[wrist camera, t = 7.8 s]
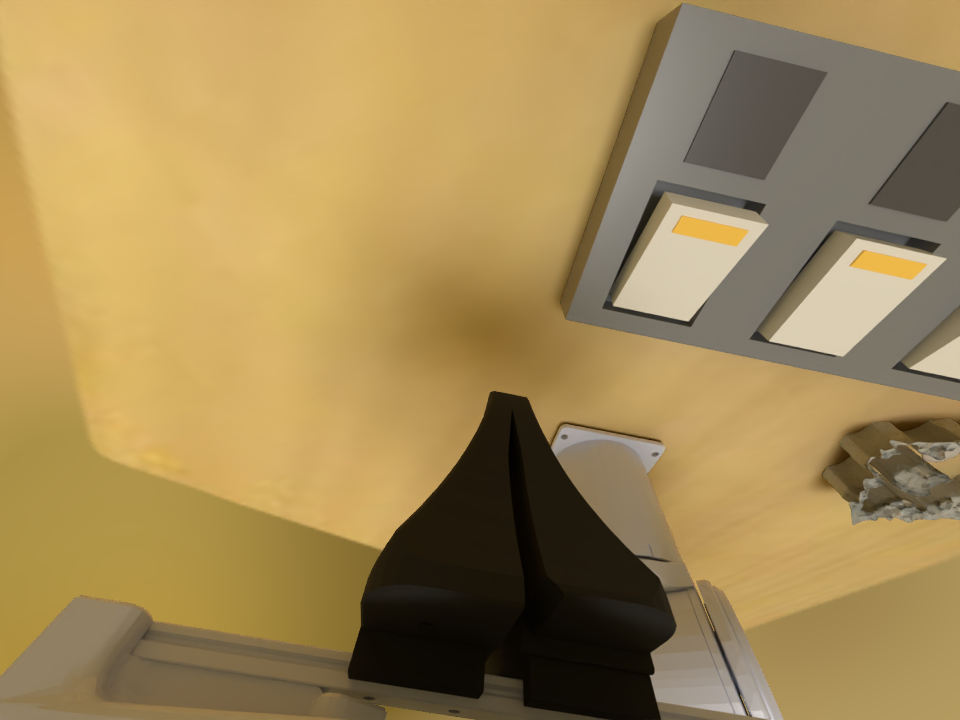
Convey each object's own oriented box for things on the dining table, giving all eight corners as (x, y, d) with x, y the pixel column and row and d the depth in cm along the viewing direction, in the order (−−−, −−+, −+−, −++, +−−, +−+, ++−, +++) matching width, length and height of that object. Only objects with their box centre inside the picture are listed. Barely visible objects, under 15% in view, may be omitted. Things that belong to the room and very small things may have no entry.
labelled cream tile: (681, 306, 18) (688, 322, 17) (609, 291, 18) (613, 307, 17) (755, 211, 14) (770, 225, 13) (665, 191, 14) (673, 204, 13)
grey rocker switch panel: (938, 380, 21) (984, 406, 19) (560, 301, 20) (565, 320, 18) (1208, 157, 14) (1323, 160, 12) (657, 21, 13) (683, 1, 11)
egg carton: (1037, 407, 22) (1136, 458, 18) (960, 482, 26) (1029, 534, 22) (851, 413, 23) (911, 462, 20) (805, 483, 27) (848, 534, 24)
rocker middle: (825, 343, 18) (844, 357, 17) (755, 328, 18) (769, 342, 17) (919, 249, 15) (949, 259, 14) (834, 230, 15) (859, 239, 14)
